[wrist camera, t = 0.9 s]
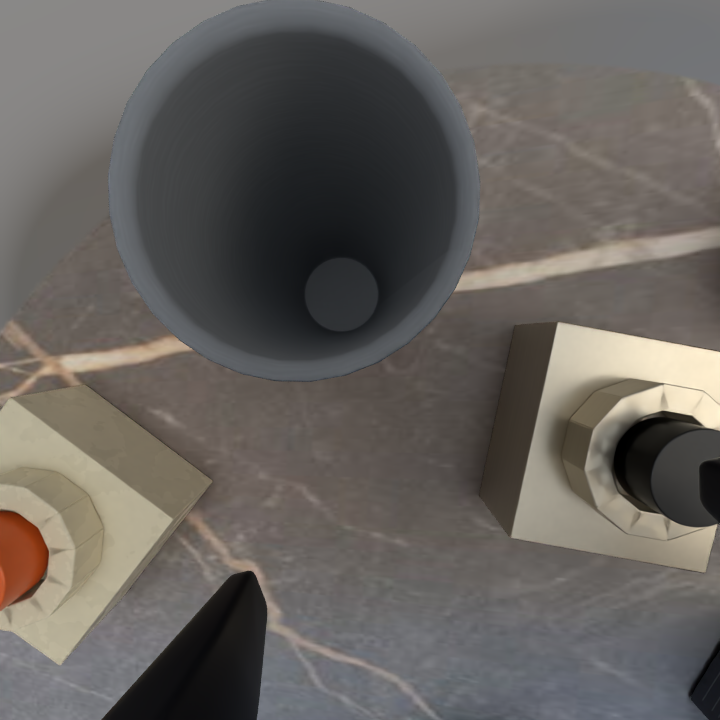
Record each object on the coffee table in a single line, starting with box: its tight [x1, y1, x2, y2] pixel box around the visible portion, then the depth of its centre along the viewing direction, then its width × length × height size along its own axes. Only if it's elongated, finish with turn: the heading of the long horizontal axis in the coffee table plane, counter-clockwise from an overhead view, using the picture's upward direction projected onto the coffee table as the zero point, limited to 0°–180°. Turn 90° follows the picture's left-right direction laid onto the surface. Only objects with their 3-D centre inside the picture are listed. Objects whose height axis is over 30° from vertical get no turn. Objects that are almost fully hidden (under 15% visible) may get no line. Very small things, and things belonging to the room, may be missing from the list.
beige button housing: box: [0, 385, 213, 665], centre depth 19 cm, size 10×10×6 cm
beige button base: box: [479, 321, 720, 573], centre depth 18 cm, size 11×10×6 cm
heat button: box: [614, 417, 720, 528], centre depth 15 cm, size 4×4×2 cm
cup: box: [108, 0, 480, 382], centre depth 14 cm, size 7×7×15 cm
